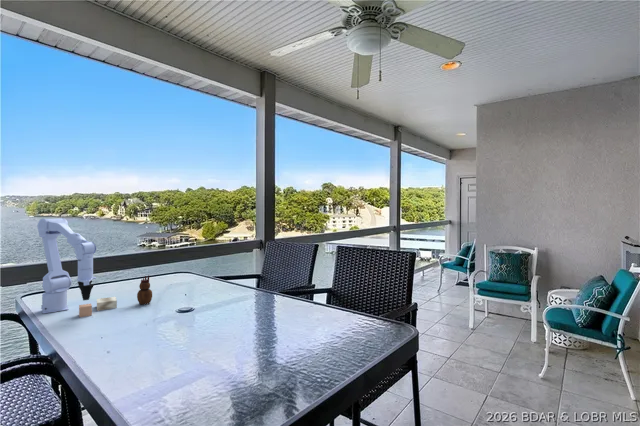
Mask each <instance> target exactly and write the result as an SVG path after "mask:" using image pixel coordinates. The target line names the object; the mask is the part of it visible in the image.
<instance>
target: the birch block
mask: <svg viewBox="0 0 640 426" xmlns="http://www.w3.org/2000/svg"><path fill="white" fill-rule="evenodd" d="M117 303H118V300H117V297H116V296H111V297H103V298H102V297H101V298H96V311H98V312H99V311H104V310H112V309H117V308H118V307H117V306H118V304H117Z"/></svg>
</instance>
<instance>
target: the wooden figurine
mask: <svg viewBox="0 0 640 426" xmlns="http://www.w3.org/2000/svg"><path fill="white" fill-rule="evenodd" d="M138 287H139V290H138V291H137V294H136V298H137V302H138V304H139V305H142V306H143V305H145V306H146V305H150V303H151V302H152V299H153V290H151V289H150V288H151V283H150V274H147V275H145V276H144V277H143V278H142V279H141V280H140V283H139V286H138Z"/></svg>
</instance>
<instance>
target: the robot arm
mask: <svg viewBox="0 0 640 426" xmlns="http://www.w3.org/2000/svg"><path fill="white" fill-rule="evenodd" d="M37 231H38V232H37V233H38V235H39V237H40V238H41V240H42V244H43V245H42V246H43V250H44V256H45V260H46V265H47V270H48V273H46V274H45V275H44V276H43V277H42V290H43V291H44V292H43V293H42V294H41V295H42V297H41V301H42V302H41V303H42V304H41V308H40V309H41V310H42V312H41V313H42V314H47V313H48V314H50V313H55V312H56V313H57V312H62V311H63V312H64V311H68V310H69V305H68V291H69V289H70V288H71V286H72V284H73V280H72V278H71V276H70V274H69V272H68V271H66V270H64V269H63V266H62V261H61V255H60V251H59V247H58V241H57V238H58V237H59V236H61V235H62V236H64V237H65V238H66V242H67V243H68V244H69V245H70V246H71V247H72V248H73V249H74V253H75V258H76V259H77V278H76V281H77V284H78V285H77V287H78V288H79V290H80V293H81V294H80V295H81V297H82V301H88V300H90V298H91V294H92V290H93V288H94V287H95V284H94V283H93V280H96V279H97V277H96V276H94V255H95V253H96V251H97V245H96V243H95V242H94V241H89V240H87V239H86V238H84V236H82V234H80V233H79V232H75V231H73V230H72V228H70V226H69V222H68V220H67V219H66V218H65V217H60V218H56V217H54V218H44V217H43V218H40V219H39V221H38V223H37Z"/></svg>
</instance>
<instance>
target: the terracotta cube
mask: <svg viewBox="0 0 640 426" xmlns="http://www.w3.org/2000/svg"><path fill="white" fill-rule="evenodd" d="M92 307H93V305H92V303H85V304H78V317H79V318H84V317H85V318H86V317H89V316H90V317H91V316H92V315H93V308H92Z"/></svg>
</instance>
